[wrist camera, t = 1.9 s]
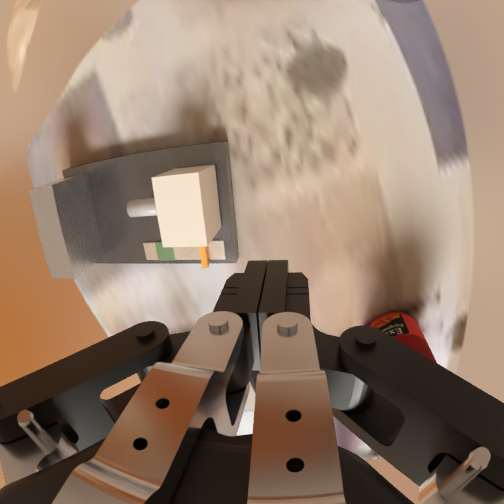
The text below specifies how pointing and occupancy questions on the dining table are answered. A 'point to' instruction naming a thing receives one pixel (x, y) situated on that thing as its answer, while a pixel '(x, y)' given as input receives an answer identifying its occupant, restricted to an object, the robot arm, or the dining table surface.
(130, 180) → the gauge base
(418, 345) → the canned food
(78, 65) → the dining table surface
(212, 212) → the block
